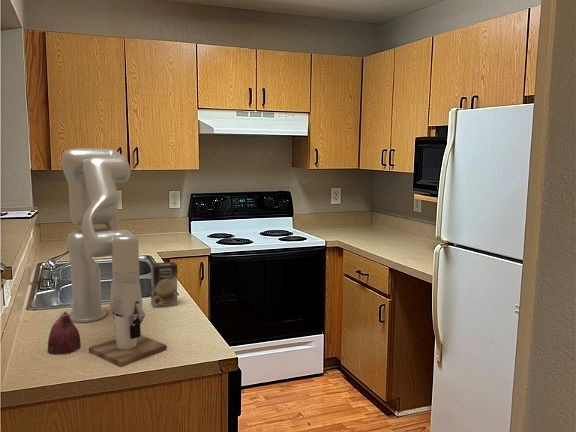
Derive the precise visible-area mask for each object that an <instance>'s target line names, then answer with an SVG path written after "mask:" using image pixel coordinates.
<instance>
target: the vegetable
mask: <svg viewBox="0 0 576 432" xmlns="http://www.w3.org/2000/svg"><path fill="white" fill-rule="evenodd" d="M69 314H70V313H68V312H67V311H64V312H63V313H62V314H61V315H60V316H59V317H58V318H57V320H56V321H55V322H54V323H53V325H52V326H51V329H50V333H49V335H48V340H47V352H48V354H50V355H68V354H71V353H75V351H78V350H79V349H80V348H81V337H80V336H81V335H80V333H79V329H78V328H77V327H76V325H75V324H74V322H73V321H71V319H70V316H69Z"/></svg>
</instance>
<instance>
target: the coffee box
mask: <svg viewBox="0 0 576 432" xmlns="http://www.w3.org/2000/svg"><path fill="white" fill-rule="evenodd" d="M150 304H151V305H152V307H153V308H167V307H175V306H176V307H177V306H178V264H177V263H175V262H174V261H169V262H151V263H150Z"/></svg>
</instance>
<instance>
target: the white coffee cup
mask: <svg viewBox="0 0 576 432" xmlns="http://www.w3.org/2000/svg"><path fill="white" fill-rule="evenodd" d="M134 314H135V313H134ZM134 314H133V315H134ZM113 316H114V318H113V320H114V333H115V339H116V345H117V348H119V349H130V348H133V347H135V346H136V345H137V338H134V339H131V338H130V326H131V322H130V319H129V318H126V317H123V316H120V315H118V316H116V314H115V313H114V315H113ZM133 318H134V321H135V319H136V316H135V317H133Z"/></svg>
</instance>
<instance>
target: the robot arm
mask: <svg viewBox="0 0 576 432" xmlns="http://www.w3.org/2000/svg"><path fill="white" fill-rule="evenodd" d="M61 167H62V170H63V174H64V176H65V179H66V181H67V185H68V197H69V198H68V201H69V214H70V220H71V223H72V224H74V225H76V226H81V229H76V230H73V231H72V232H70V233H68V235H67V237H66V245H67V250H68V255H69V264H70V274H71V275H70V278H71V279H70V280H71V297H72V298H71V300H72V301H71V302H72V303H70V305H69V307H70V308H72V311H71V312H70V313H68V314H69V316H70V319H71V321H72V322H73V323H89V322H90V323H91V322H96V321H100V320H101V319H104V318H105V317H106V316H107V311H106V310H104V309H102V296H101V295H102V286H101V285H102V284H101V267H100V266H99V264H98V263H97V261H95V260H94V258H104V257H111V271H112V272H111V273H112V280H111V283H110V293H109V309H110V311H111V313H112V315H113V319H114V313H115V314H116V316H118V315H120V316H123V317H126V318H129V319H130V322H131V326H130V338H131V339H134V338H137V337H140V336H141V335H142V334H141V324H142V322H143V320H144V318H145V317H146V313H145V311H144V309H143V297H142V288H141V284H140V251H139V243H140V242H139V238H138V235H135V234H133V233H132V232H131V231H130V230H128V229H120V215H119V207H118V204H119V201H120V197H119V192H118V190H117V185H116V183H126V182H128V180H129V179H130V177H131V167H130V164H129V161H128V160H127V158H125V156H124V155H122V153H120V152H118V151H117V150H116V149H113V148H91V147H90V148H89V147H88V148H86V147H85V148H84V147H83V148H82V147H80V148H70V149H66V150H65V151H64V152H63V153H62V157H61ZM94 225H95V226H96V225H103V227H96V228H95V227H94ZM134 313H135V314H134ZM133 314H134V315H133ZM135 316H136V319H135V321H134V318H133V317H135Z"/></svg>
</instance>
